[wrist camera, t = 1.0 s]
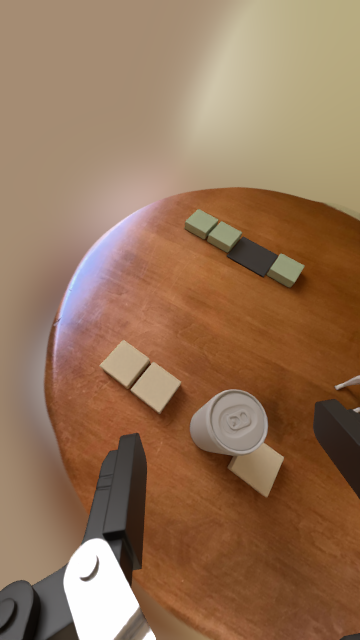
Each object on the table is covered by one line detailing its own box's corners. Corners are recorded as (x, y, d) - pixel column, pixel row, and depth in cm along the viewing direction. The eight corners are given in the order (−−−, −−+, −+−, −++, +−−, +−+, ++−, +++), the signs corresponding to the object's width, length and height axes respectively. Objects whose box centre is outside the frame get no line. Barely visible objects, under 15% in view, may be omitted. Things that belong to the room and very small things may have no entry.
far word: (181, 230, 44) (182, 223, 42) (199, 213, 46) (200, 206, 45) (288, 291, 39) (292, 285, 38) (301, 269, 42) (306, 262, 40)
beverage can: (183, 415, 29) (197, 399, 18) (219, 402, 30) (251, 379, 20) (198, 458, 27) (223, 468, 16) (235, 442, 28) (281, 441, 18)
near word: (102, 369, 31) (99, 365, 30) (124, 343, 33) (123, 339, 31) (261, 494, 26) (267, 497, 25) (278, 456, 28) (284, 457, 26)
